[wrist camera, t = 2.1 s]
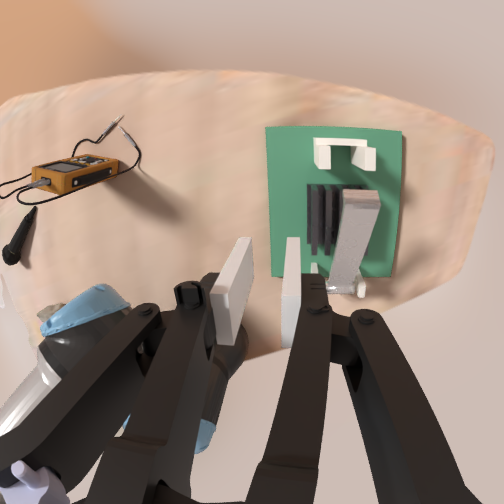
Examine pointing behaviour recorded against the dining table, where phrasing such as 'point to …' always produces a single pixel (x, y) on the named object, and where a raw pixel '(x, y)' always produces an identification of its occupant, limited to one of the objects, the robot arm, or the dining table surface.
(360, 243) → the clamp bar
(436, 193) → the dining table surface
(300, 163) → the circuit board
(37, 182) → the multimeter
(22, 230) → the microphone
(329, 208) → the heat sink
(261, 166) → the dining table surface
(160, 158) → the dining table surface
